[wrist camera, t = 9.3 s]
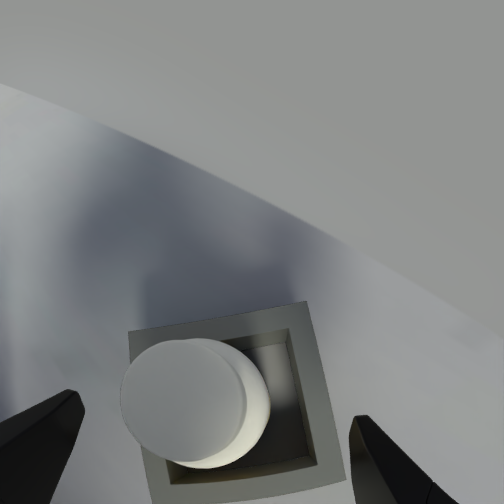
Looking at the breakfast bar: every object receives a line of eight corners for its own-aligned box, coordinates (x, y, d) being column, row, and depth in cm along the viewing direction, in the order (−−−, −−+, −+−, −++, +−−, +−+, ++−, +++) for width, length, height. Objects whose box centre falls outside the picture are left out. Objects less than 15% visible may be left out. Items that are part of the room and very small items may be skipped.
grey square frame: (172, 491, 15) (152, 505, 12) (150, 345, 19) (128, 331, 16) (333, 468, 15) (346, 479, 12) (300, 319, 20) (306, 300, 17)
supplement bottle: (163, 412, 17) (73, 406, 9) (214, 344, 19) (163, 286, 11) (235, 465, 16) (198, 515, 7) (289, 394, 18) (303, 380, 9)
